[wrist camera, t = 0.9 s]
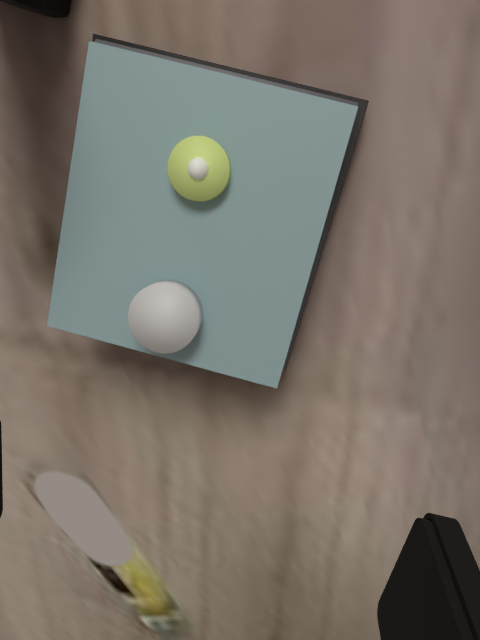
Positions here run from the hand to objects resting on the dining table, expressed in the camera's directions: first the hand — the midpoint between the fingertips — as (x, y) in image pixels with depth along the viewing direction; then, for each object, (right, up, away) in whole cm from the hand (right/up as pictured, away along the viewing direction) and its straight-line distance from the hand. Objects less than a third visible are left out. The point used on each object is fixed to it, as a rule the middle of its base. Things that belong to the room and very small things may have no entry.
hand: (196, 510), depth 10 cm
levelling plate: (-2, +11, +22) cm, 25 cm away
